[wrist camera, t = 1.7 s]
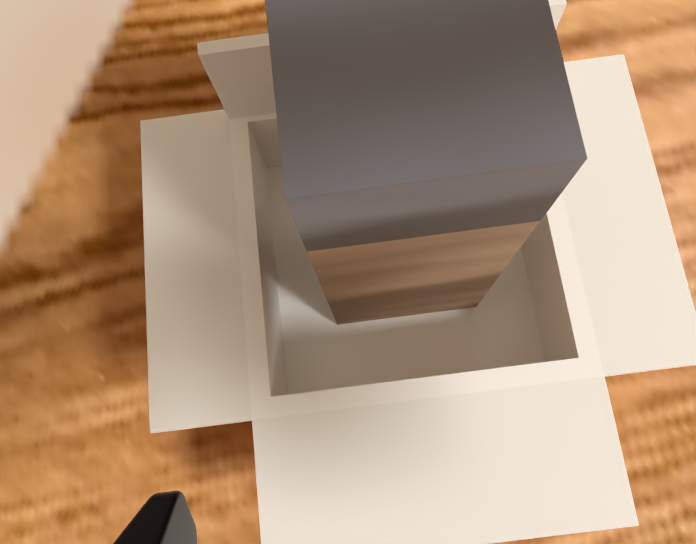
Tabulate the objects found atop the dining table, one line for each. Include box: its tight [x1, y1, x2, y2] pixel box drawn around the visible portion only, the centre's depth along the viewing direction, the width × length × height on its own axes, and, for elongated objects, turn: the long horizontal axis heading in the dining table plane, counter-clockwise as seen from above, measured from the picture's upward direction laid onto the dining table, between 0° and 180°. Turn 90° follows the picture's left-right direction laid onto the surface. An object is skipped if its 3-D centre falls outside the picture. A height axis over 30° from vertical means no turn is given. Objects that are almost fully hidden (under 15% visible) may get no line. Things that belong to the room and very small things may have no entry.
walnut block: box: [265, 0, 587, 325], centre depth 16 cm, size 4×5×12 cm
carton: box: [140, 0, 696, 544], centre depth 18 cm, size 14×16×8 cm
